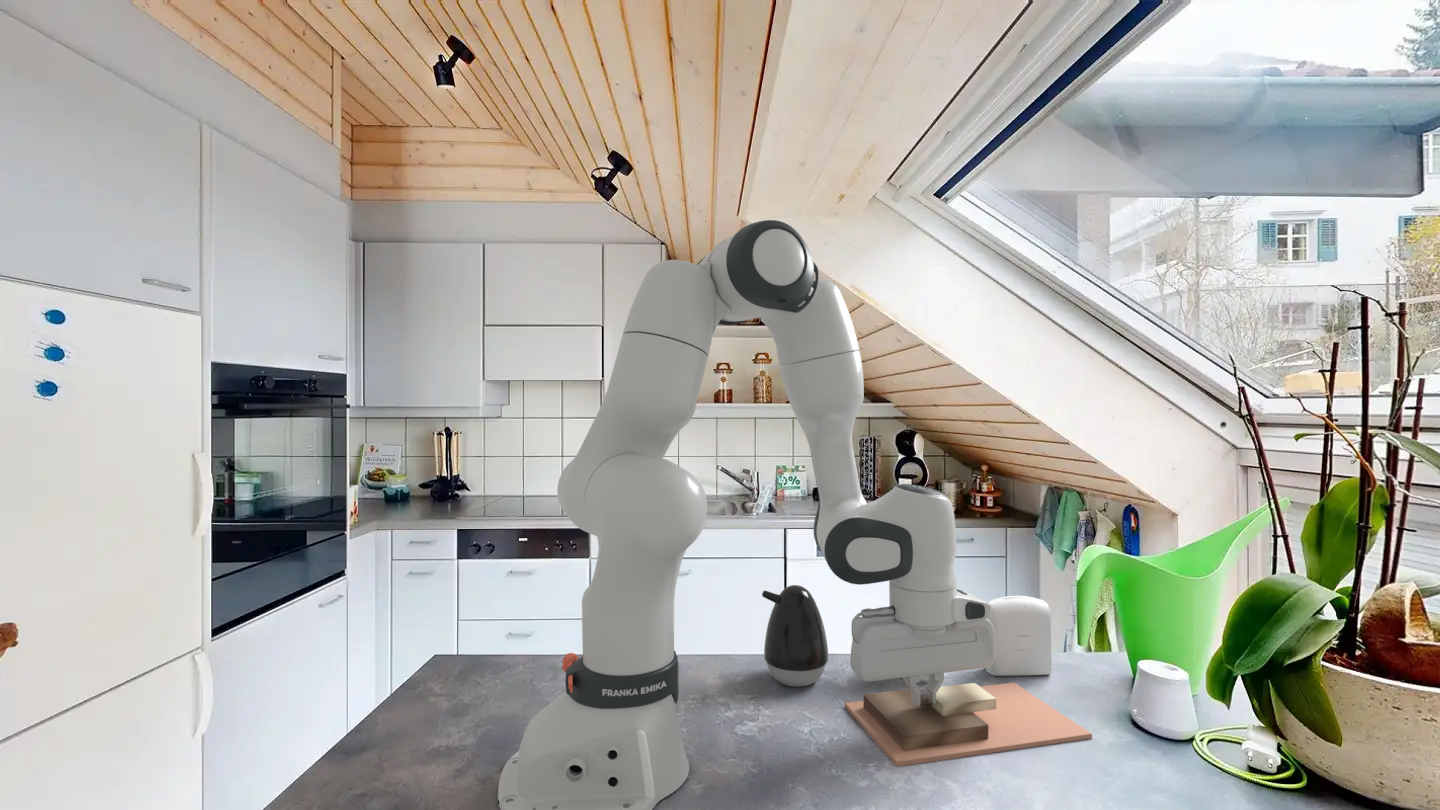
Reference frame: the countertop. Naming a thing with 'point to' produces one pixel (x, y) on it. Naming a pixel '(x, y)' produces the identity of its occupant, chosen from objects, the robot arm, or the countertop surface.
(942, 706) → the birch tile
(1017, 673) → the photo printer
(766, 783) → the countertop surface
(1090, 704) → the countertop surface
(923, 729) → the walnut block
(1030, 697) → the rubber mat
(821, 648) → the pump dispenser
